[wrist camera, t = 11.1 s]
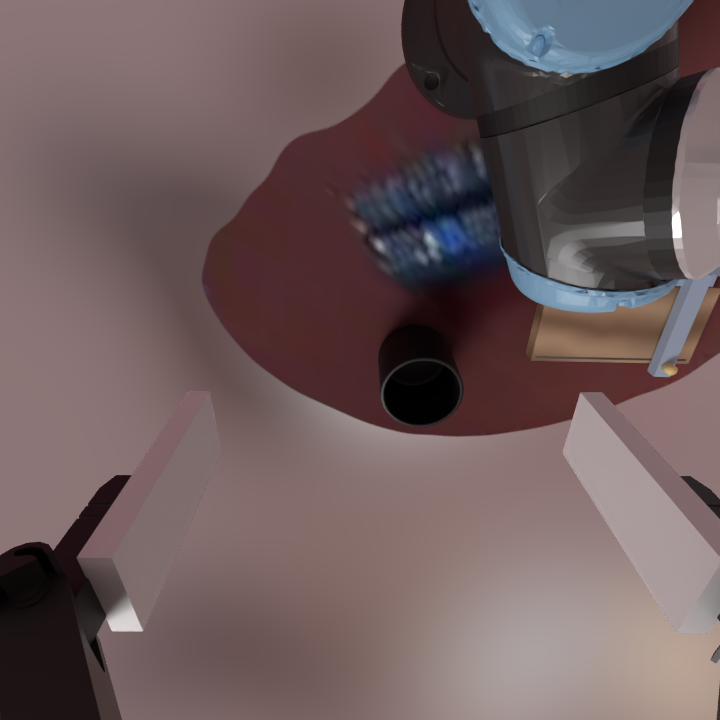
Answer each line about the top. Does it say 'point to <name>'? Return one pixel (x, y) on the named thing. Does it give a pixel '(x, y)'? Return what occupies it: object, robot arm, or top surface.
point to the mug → (418, 377)
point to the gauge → (680, 324)
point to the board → (612, 332)
